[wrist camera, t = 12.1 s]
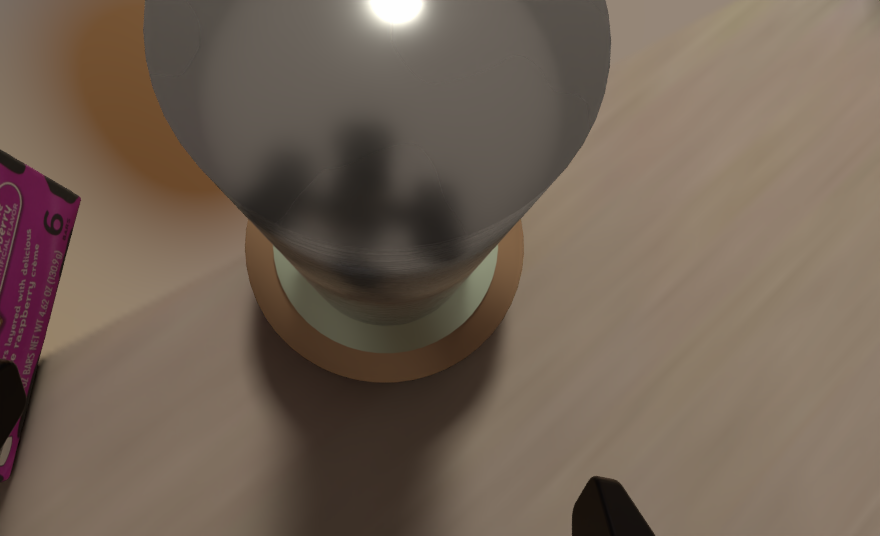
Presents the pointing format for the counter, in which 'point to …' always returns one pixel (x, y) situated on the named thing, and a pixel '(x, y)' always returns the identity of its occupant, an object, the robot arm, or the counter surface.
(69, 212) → the candy bar box
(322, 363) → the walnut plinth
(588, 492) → the robot arm
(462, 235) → the grey tin
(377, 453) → the counter surface
